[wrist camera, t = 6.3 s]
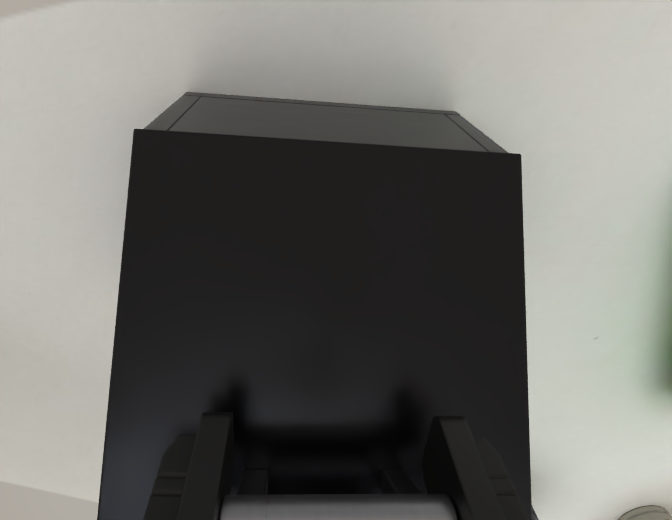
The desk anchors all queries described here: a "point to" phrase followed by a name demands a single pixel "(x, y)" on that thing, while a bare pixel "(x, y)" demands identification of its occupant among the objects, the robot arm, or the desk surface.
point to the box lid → (316, 320)
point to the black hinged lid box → (322, 122)
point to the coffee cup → (647, 514)
